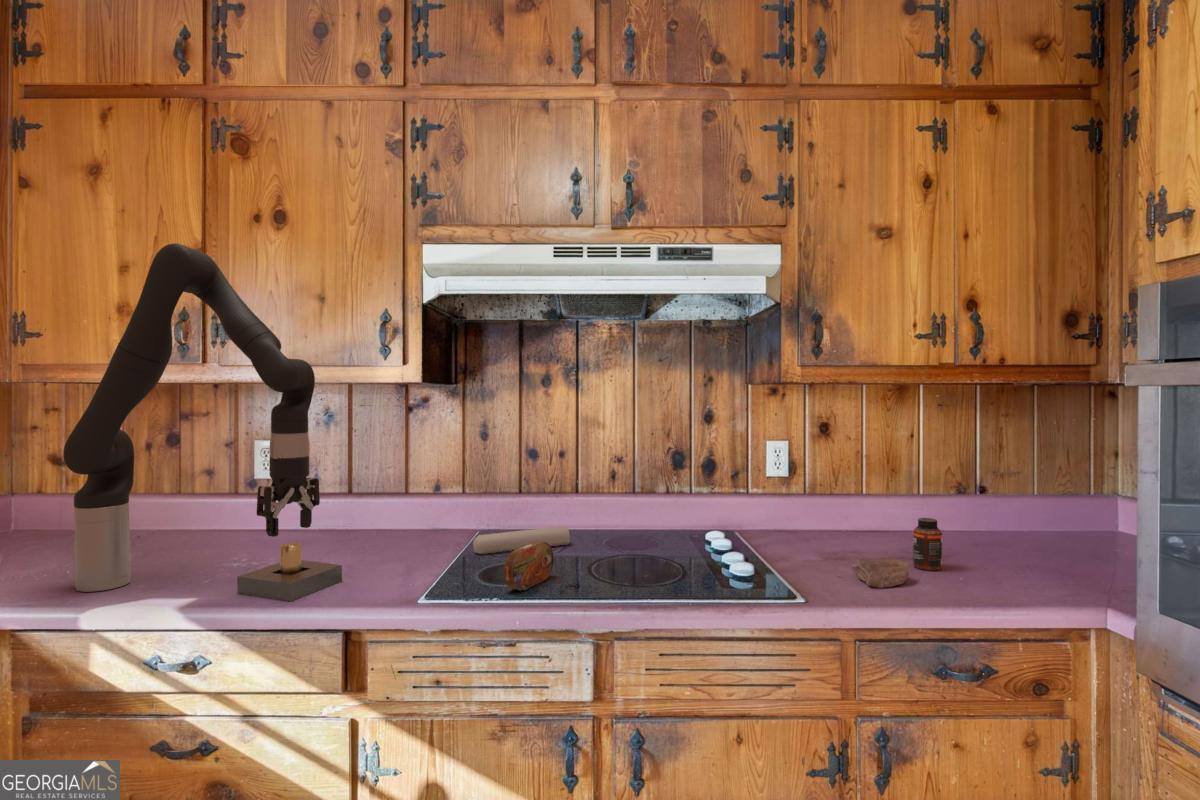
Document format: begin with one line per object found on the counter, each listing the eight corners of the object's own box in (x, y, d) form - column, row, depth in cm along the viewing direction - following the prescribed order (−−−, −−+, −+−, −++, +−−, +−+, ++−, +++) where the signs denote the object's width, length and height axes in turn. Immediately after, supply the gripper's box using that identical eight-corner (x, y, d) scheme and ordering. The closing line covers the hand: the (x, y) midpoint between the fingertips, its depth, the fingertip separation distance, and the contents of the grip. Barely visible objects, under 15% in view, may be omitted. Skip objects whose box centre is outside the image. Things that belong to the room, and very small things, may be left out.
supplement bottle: (947, 569, 149) (948, 520, 149) (932, 573, 146) (932, 523, 146) (922, 563, 155) (923, 515, 154) (907, 566, 152) (908, 518, 151)
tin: (513, 596, 131) (513, 554, 131) (501, 593, 133) (501, 552, 132) (554, 576, 144) (554, 538, 144) (543, 574, 146) (542, 537, 145)
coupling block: (237, 593, 132) (237, 576, 132) (291, 574, 145) (291, 558, 145) (290, 601, 127) (290, 583, 127) (341, 581, 141) (341, 565, 140)
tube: (476, 542, 160) (570, 531, 170) (471, 531, 164) (563, 521, 174) (474, 561, 161) (568, 549, 171) (470, 549, 166) (561, 538, 176)
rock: (870, 590, 135) (870, 567, 135) (843, 576, 145) (844, 554, 145) (920, 587, 137) (921, 564, 137) (891, 573, 147) (891, 552, 147)
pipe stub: (276, 589, 135) (275, 546, 135) (291, 583, 139) (290, 541, 139) (291, 591, 134) (290, 547, 134) (306, 585, 138) (305, 543, 137)
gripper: (302, 450, 144) (302, 523, 144) (246, 456, 130) (246, 537, 131) (329, 452, 141) (328, 526, 141) (275, 458, 128) (275, 541, 128)
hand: (289, 531), depth 136 cm, fingers open, 8 cm apart
